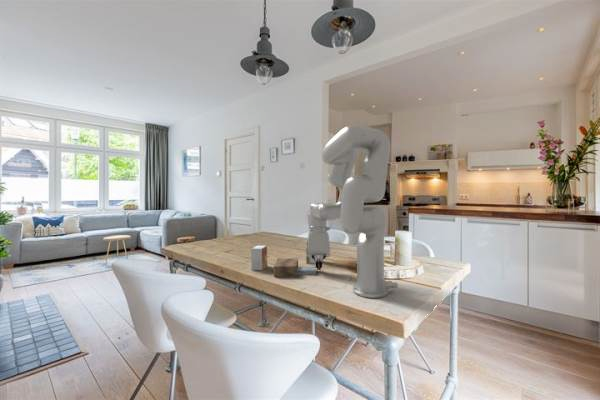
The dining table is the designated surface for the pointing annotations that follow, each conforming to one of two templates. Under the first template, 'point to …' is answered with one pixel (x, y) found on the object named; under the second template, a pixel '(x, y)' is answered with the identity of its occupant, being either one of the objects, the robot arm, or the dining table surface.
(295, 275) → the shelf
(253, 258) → the small box
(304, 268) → the tile
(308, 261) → the skyscraper
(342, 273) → the dining table surface
